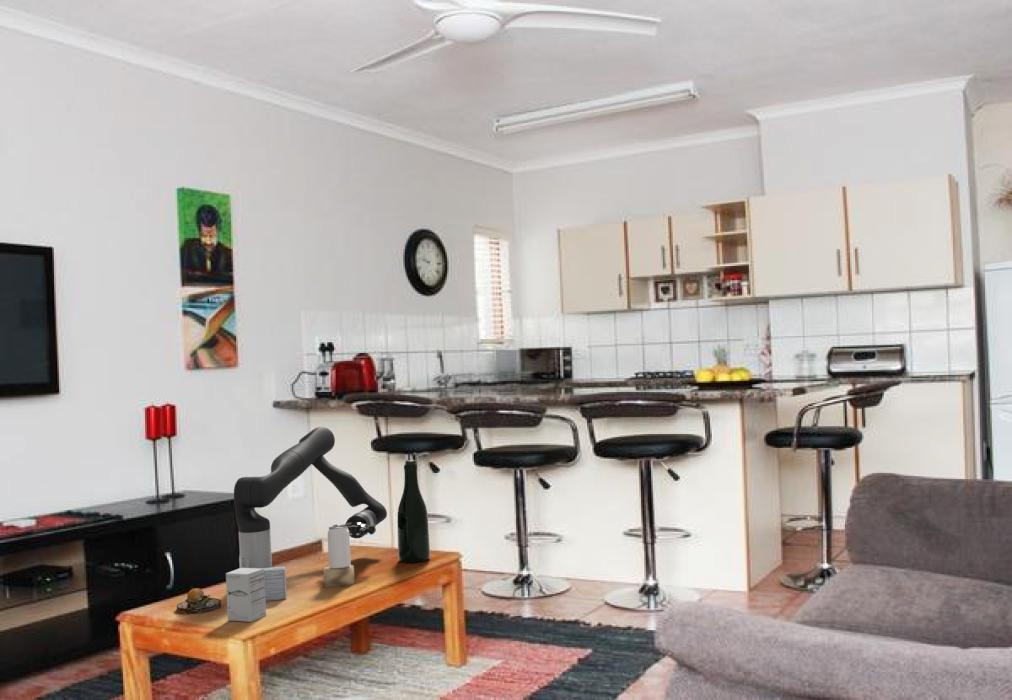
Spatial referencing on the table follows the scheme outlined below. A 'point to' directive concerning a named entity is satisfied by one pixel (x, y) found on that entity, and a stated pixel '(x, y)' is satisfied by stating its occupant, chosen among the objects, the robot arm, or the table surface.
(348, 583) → the grey rounded block
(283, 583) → the medicine box
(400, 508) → the dark green wine bottle
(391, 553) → the table surface
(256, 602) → the supplement box
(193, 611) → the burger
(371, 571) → the table surface
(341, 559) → the can
